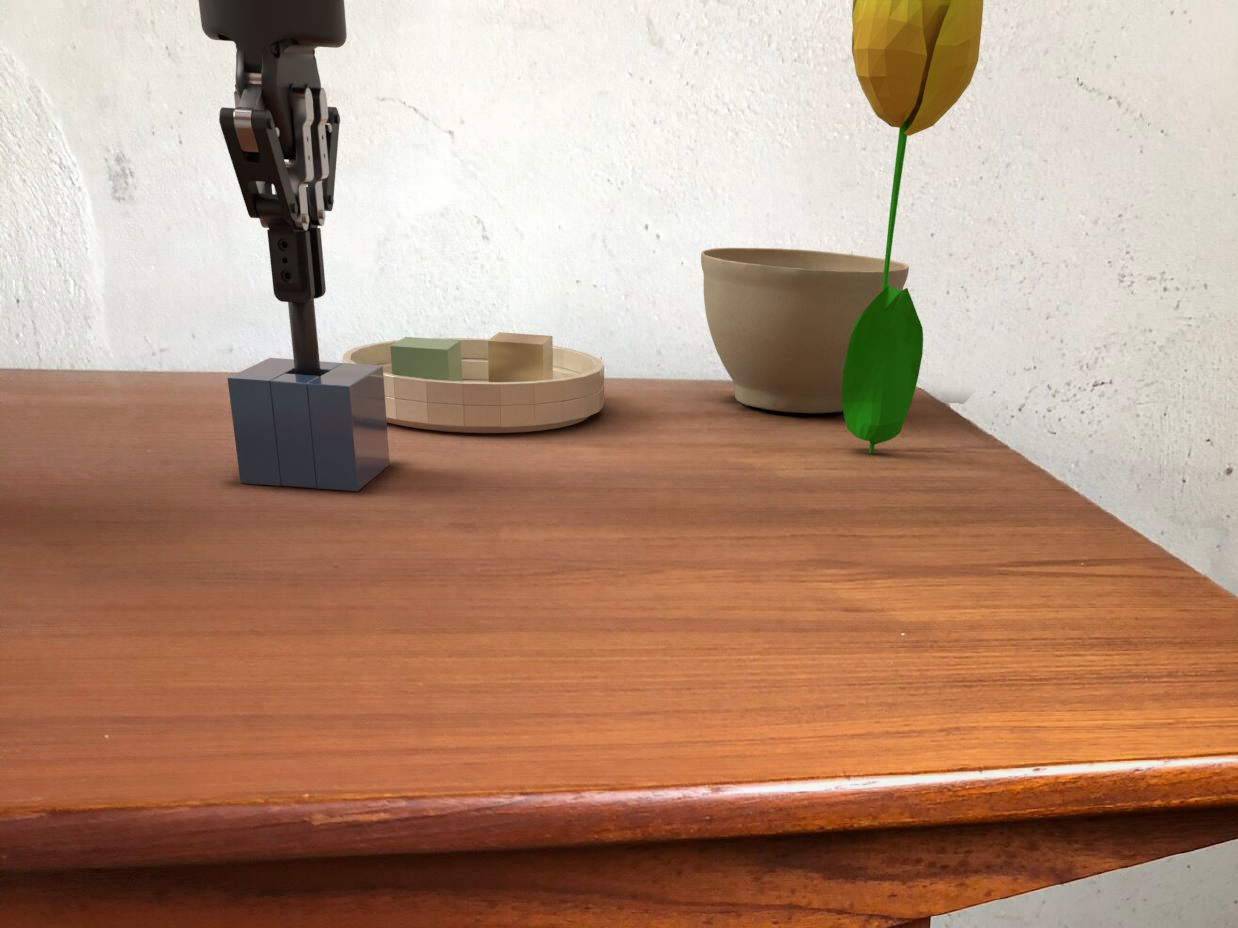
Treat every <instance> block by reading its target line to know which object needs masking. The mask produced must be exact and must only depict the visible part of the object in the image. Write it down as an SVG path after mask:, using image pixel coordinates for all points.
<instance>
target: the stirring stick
mask: <svg viewBox="0 0 1238 928" xmlns="http://www.w3.org/2000/svg"><path fill="white" fill-rule="evenodd" d="M301 231H305V230H301ZM306 231H308V229H307V230H306ZM287 306H288V317H289V326H290V336H291V337H290V338H291V347H292V356H293V357H292V359H294V368H295V374H298V375H312V376H319V377H320V376H321V371H320V351H319V350H320V349H319V339H318V328H317V318H316V308H315V307H316V305H315V299H313V300H312V301H309V302H307V303H294V302H287Z"/></svg>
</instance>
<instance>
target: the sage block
mask: <svg viewBox="0 0 1238 928" xmlns="http://www.w3.org/2000/svg"><path fill="white" fill-rule="evenodd" d="M430 338H431V337H429V338H427V337H414V336H405V337H403V338H401V339H398V340H399V341H397V342H396V343H394V344H392V345H391V346H390V352H391V367H392V374H394V375H399V376H407V377H415V378H423V379H432V380H447V381H461V382H462V360H461V341H459V340H445V339H430Z"/></svg>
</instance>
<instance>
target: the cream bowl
mask: <svg viewBox="0 0 1238 928" xmlns="http://www.w3.org/2000/svg"><path fill="white" fill-rule="evenodd" d="M429 338H430V339H445V340H459V341H461V360H462V382H461V381H447V380H432V379H423V378H415V377H407V376H399V375H394V374H392V367H391V352H390V346H391V345H392V344H394V343H396V342H397V341H399V340H400V339H397V340H395V339H394V340H387V341H380V342H373V343H368V344H364V345H360V346H355V347H353V348H351V349H349V350H347V351H345V352H344V353H343V354H342V359H341V360H342V362H341V363H352V364H366V365H381V366H383V377H384V391H385V405H386V420H387V424H391V425H396V426H401V427H406V428H412V429H419V430H429V431H435V432H436V431H437V432H449V433H465V434H512V433H513V434H514V433H530V432H539V431H541V432H542V431H547V430H555V429H561V428H565V427H569V426H573V425H576V424H579V423H581V422H583V421H585V420H587V419H588V418H589V417H591V416H593V415H595V414H598V413H600V411H601V410H602V408H604V406H605V364H604V363H603V362H602V359H600V358H598V357H596V356H595V355H592V354H590V353H587V352H583V351H579V350H576V349H572V348H569V347H568V348H567V347H562V346H558V345H553V379H551V380H540V381H526V382H489V376H488V345H487V341H488V340H489V339H490V338H470V337H469V338H468V337H429Z"/></svg>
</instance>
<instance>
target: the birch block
mask: <svg viewBox="0 0 1238 928" xmlns="http://www.w3.org/2000/svg"><path fill="white" fill-rule="evenodd" d="M488 339H489V340H488V341H487V345H488V376H489V382H526V381H540V380H551V379H553V346H554V345H553V342H554V341H553V335H545V334H544V335H543V334H529V333H515V332H497V333H496V334H494V335H493V336H492V337H490V338H488Z"/></svg>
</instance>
